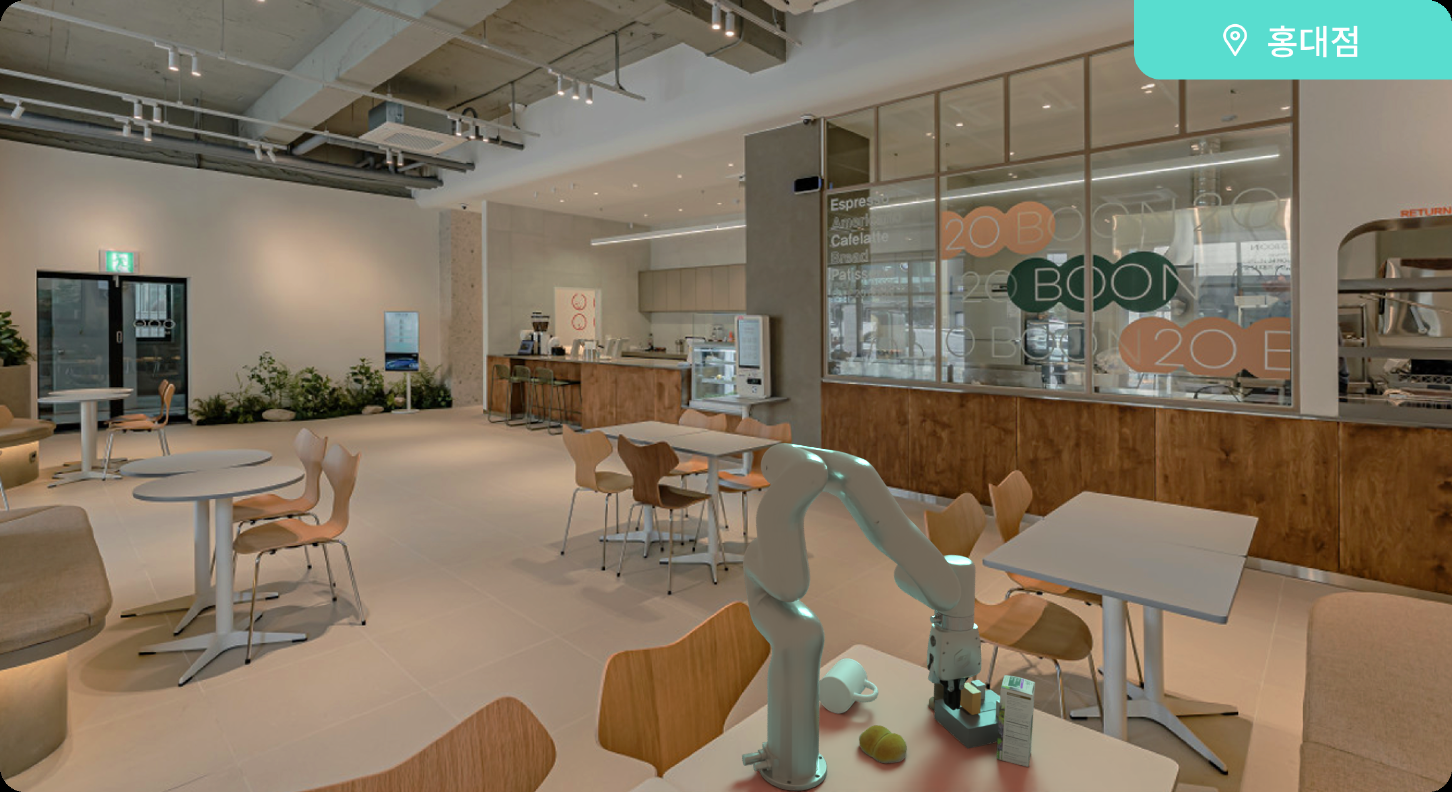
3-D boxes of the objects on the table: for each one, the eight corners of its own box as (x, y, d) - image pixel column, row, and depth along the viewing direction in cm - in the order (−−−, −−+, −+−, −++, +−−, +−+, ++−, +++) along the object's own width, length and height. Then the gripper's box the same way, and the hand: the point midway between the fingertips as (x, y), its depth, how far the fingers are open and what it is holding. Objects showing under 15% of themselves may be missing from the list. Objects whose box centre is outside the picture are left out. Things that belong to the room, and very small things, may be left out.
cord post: (937, 714, 146) (939, 651, 145) (924, 702, 151) (925, 641, 149) (957, 710, 148) (959, 648, 146) (943, 698, 152) (945, 638, 151)
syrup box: (999, 743, 136) (1002, 673, 134) (1032, 752, 133) (1035, 680, 132) (996, 759, 131) (999, 686, 129) (1030, 768, 128) (1033, 694, 127)
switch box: (967, 748, 134) (968, 714, 134) (934, 718, 145) (935, 686, 144) (1026, 735, 138) (1027, 702, 138) (990, 707, 149) (991, 676, 148)
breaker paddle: (971, 714, 138) (972, 693, 138) (959, 704, 142) (960, 683, 142) (980, 713, 139) (981, 691, 138) (967, 703, 143) (968, 682, 142)
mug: (816, 707, 149) (816, 672, 148) (834, 687, 157) (834, 654, 157) (869, 724, 143) (869, 687, 142) (885, 702, 151) (885, 667, 150)
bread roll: (890, 771, 128) (891, 751, 127) (852, 749, 134) (852, 729, 134) (916, 753, 133) (916, 733, 133) (878, 732, 140) (878, 714, 139)
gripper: (932, 631, 131) (930, 722, 133) (998, 621, 136) (995, 709, 138) (910, 616, 138) (909, 703, 140) (973, 606, 143) (971, 690, 145)
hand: (951, 706), depth 139 cm, fingers closed
